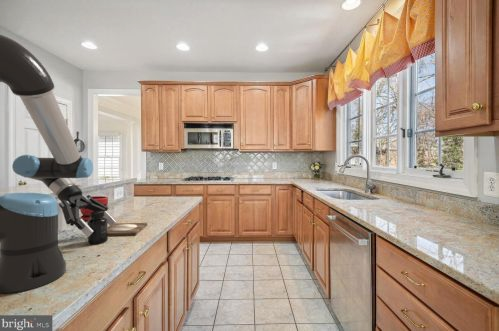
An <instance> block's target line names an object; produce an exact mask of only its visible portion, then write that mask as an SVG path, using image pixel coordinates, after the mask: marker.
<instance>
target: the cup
mask: <svg viewBox="0 0 499 331" xmlns="http://www.w3.org/2000/svg"><path fill="white" fill-rule="evenodd" d="M60 203H61V202H57V206H58V211H59V212H58V232H61V231H65V230H66V229H67V223H66V221H65V218H64V214H63V211H62V209H61V207H60V206H59V204H60Z"/></svg>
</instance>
